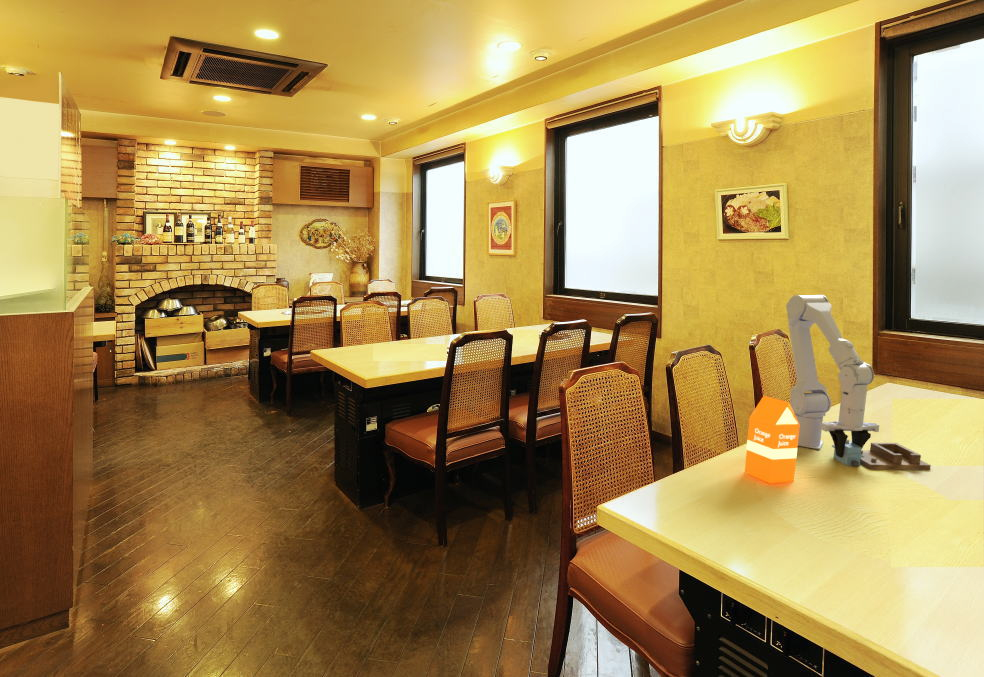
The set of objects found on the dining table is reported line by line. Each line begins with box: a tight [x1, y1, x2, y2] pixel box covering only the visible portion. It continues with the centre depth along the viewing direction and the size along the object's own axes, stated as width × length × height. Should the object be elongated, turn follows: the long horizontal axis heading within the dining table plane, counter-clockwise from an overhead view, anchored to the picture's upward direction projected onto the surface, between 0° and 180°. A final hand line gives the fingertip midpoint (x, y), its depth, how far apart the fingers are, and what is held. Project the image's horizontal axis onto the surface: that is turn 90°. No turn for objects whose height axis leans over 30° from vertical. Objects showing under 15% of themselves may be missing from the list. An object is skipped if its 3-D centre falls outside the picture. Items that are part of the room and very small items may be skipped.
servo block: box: [831, 438, 864, 467], centre depth 163 cm, size 9×4×6 cm, turn 0°
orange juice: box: [744, 395, 800, 484], centre depth 151 cm, size 8×9×20 cm
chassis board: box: [860, 442, 932, 470], centre depth 163 cm, size 16×11×4 cm
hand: (846, 456), depth 163 cm, fingers closed on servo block, 4 cm apart
